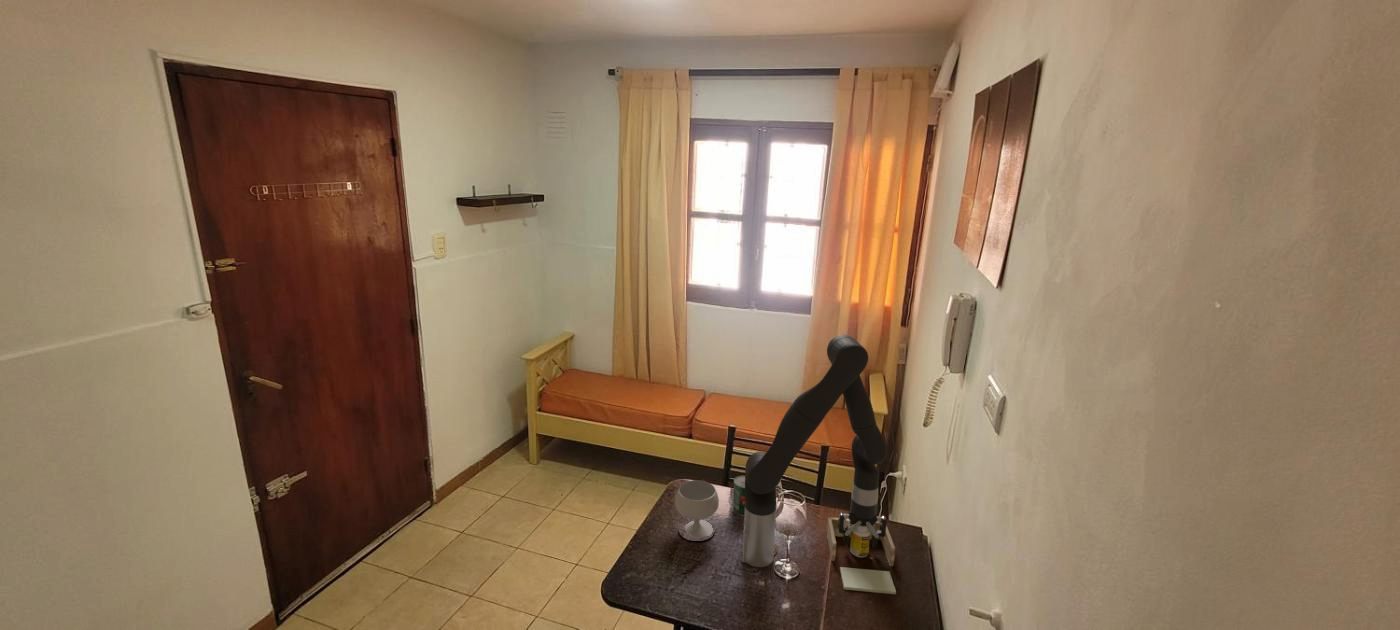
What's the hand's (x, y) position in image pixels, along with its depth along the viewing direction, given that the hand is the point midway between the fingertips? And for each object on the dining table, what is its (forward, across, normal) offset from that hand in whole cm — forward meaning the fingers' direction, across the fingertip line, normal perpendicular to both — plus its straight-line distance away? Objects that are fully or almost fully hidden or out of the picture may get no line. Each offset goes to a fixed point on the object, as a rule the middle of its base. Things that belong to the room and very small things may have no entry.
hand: (859, 545), depth 161 cm
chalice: (+3, -51, +4) cm, 51 cm away
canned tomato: (+3, -36, +18) cm, 40 cm away
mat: (+2, 0, -12) cm, 13 cm away
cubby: (+2, 0, +2) cm, 3 cm away
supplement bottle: (+3, 0, 0) cm, 3 cm away
